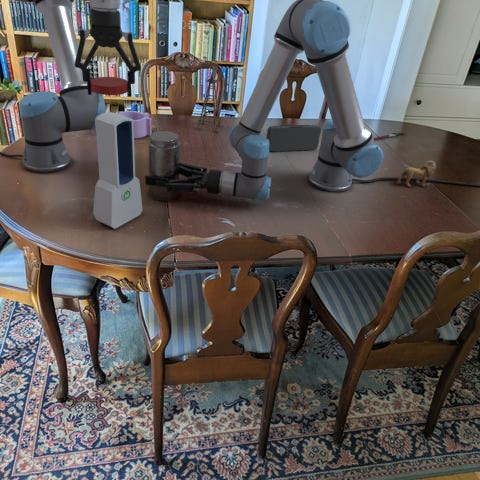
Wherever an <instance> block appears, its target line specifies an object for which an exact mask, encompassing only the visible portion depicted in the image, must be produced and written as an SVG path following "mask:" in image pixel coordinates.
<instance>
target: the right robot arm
mask: <svg viewBox="0 0 480 480" xmlns="http://www.w3.org/2000/svg"><path fill="white" fill-rule="evenodd" d="M350 21H351V20H350V18H349V16H348V14H347V12H346V11H345V10H344V9H343V7H341V6H339V5H338V4H337V3H335V2H333V1H330V0H329V1H328V0H295V1H294V2H292V4H291V5H289V7H288V8H287V10H286V11H285V13H284V15H283V16H282V18H281V20H280V22H279V24H278V26H277V29H276V31H275V33H274V35H273V40H274V44H273V46H272V48H271V51H270V52H269V55H268V57H267V59H266V62H265V64H264V66H263V68H262V71H261V72H260V75H259V77H258V79H257V82H256V84H255V86H254V89H253V90H252V93H251V95H250V97H249V99H248V101H247V104H246V105H245V108H244V111H243V113H242V115H241V117H240V119H239V121H238V124H235V125H234V126H232V128H231V129H230V130H229V133H228V140H229V142H230V145H231V146H232V148H233V149H234V150H235V151H236V153H237V154H238V157H240V159H241V170H240V172H236V171H229V170H223V171H222V170H220V169H214V168H213V169H212V168H211V169H209V171H208V168H207V167H201V166H197V165H192V164H188V163H184V162H180V161H179V176H183V177H186V178H179V179H174V180H169V179H168V178H161V177H153V176H149V175H145V176H144V183H145V184H144V185H146V186H149V185H152V186H159V187H166V189H167V192H179V193H193V194H200V193H201V192H200V191H201V190H204V189H205V190H206V193H207V194H211V195H219V194H220V195H221V196H226V197H235V198H242V199H249V200H253V201H267V200H269V198H270V192H271V186H272V177H270V176H268V175H267V174H266V173H267V167H268V159H269V155H270V151H269V140H268V139H267V138H266V137H265V136H263V135H260V134H261V132H262V129H263V128H264V125H265V124H266V122H267V119H268V117H269V115H270V113H271V111H272V109H273V107H274V105H275V103H276V101H277V99H278V97H279V95H280V92H281V91H282V88H283V86H284V84H285V83H286V80H287V78H288V76H289V74H290V72H291V70H292V68H293V66H294V64H295V62H296V59H297V57H298V55H300V54H302V53H304V54H305V57H306V60H307V63H309V64H310V65H313V66H314V67H315V70H316V73H317V76H318V80H319V82H320V86H321V89H322V92H323V95H324V99H325V102H326V105H327V108H328V111H329V114H330V117H331V118H328V119H326V120H325V122H324V124H323V128H322V132H321V133H322V134H321V139H320V143H319V149H318V154H317V159H316V161H315V163H314V165H313V167H312V168H311V170H310V172H309V175H308V182H309V183H310V184H311V185H312V186H313V187H314V188H317V189H319V190H322V191H327V192H331V193H341V192H346V191H348V190H349V189H350V188H351V187H352V183H353V182H357V183H362V184H368V183H374V182H378V181H397V180H398V178H399V177H400V176H398V177H395V176H394V177H392V176H391V177H390V176H389V177H388V176H387V177H385V176H384V177H376V178H373V179H364V178H367V177H369V176H372V175H373V174H374V173H376V171H377V170H378V169H379V167H380V165H382V162H383V159H384V152H383V150H382V148H381V147H380V146H379V145H378V144H376V142H375V140H374V139H373V138H374V135H373V132H372V131H373V130H372V128H371V126H369V125H367V124H365V122H364V118H363V115H362V111H361V107H360V104H359V100H358V96H357V92H356V89H355V85H354V82H353V81H354V80H353V77H352V74H351V70H350V66H349V63H348V59H347V55H346V53H347V51H348V50H349V48H350V44H349V40H348V39H349V36H351V22H350ZM353 177H354V178H353ZM417 179H418V178H414V177H412V178H411V179H410V181H417ZM406 180H407V177H403V178H401V180H400V181H406ZM422 180H423V179H422V178H420V182H422ZM425 182H431V183H441V184H451V185H459V186H471V187H480V185H476V184H477V183H473V184H466V183H467V182H461V181H453V180H443V179H433V178H426V181H425Z"/></svg>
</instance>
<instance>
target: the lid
mask: <svg viewBox="0 0 480 480" xmlns="http://www.w3.org/2000/svg"><path fill="white" fill-rule="evenodd" d="M90 85H91V91H92V92H94V93H97V94H102V96H103V95H104V96H120V95H124V94H128V79H125V78H122V77H116V76H97V77H93V78H91V80H90Z"/></svg>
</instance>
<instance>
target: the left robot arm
mask: <svg viewBox="0 0 480 480" xmlns="http://www.w3.org/2000/svg"><path fill="white" fill-rule="evenodd" d="M14 1H15V2H19V3H32V4H33V3H34V6H35V10H36V11H37V12H39V13H40V14H41V15H42V17H43V20H44V24H45V28H46V31H47V36H48V39H49V43H50V47H51V50H52V54H53V58H54V61H55V65H56V68H57V69H56V70H57V73H58V75H59V76H58V77H59V80H60V84H61V87H60V89H59V90H58V94H59V95H58V94H57V93H56V92H54V91H45V90H44V91H43V90H41V91H36V92H32V93H28V94H26V95H24V96H23V97H22V98H21V99H20V100H19V103H18V104H19V116H20V119H21V125H22V132H23V137H24V148H23V153H22V154H9V153H4V152H2V151H0V155H1V156H4V157H8V158H21V159H22V160H21V161H22V166H23V168H24V169H25V170H27V171H29V172H33V173H39V174H46V173H56V172H61V171H63V170H66V169H67V168H69V167H70V166H71V163H72V159H71V155H70V153H69V151H68V150H67V149H68V148H67V147H66V145H65V143H64V140H63V134H64V133H72V132H81V131H91V130H93V129H95V130H96V125H95V118H96V117H98V116H99V115H101V114H102V113H106V112H107V109H106V101H105V98H104V96H103V95H102V94H97V93H94V92H92V91H91V85H90V80H91V79H92V77H91V75H92V74H91V68H88V66H89V65H90V63H91V61H92V60H93V58H94V56H95V54H96V52H97V50H98V48H99V47H100V48H109V49H113V48H115V50H116V51H117V53H118V55H119V56H120V58H121V59H122V61H123V62H124V64H125V66H126V67H127V69H128V70H127V81H128V92H127V94H128V97H132V85H135V83H136V72H139V71H141V70H142V65H141V62H140V58H139V56H138V52H137V51H136V47H135V44H134V40H133V38H134V36H133V35H134V33H133V32H132V31H128V32H126V31H123V29H122V28H121V12H120V11H119V9H120V7H121V6H120V0H89V6H90V7H91V8H90V11H89V15H90V25H91V26H90V29H84V28H81V29H80V30H79V32H78V33H79V42H78V38H77V35H76V31H75V28H74V23H73V19H72V15H71V12H70V11H71V9H72V8H73V7H74V5H73V3H74V2H75V0H14ZM89 35H90V36H91V37H92V39H93V40H94V43H93V45H92V46H91V49H90V51H89V52H88V54H87V56H86V57H85V60H84V61H83V58H82V57H83V53H84V49H85V45H86V40H87V39H88V38H89ZM122 38H124V40H125V41H126V42H127V44H128V49H129V51H130V53H131V56H132V57H131V58H132V59H133V63H134V65H133V63H132V62H131V60H130V58H129V56H128V55H127V53H126V51H125V50H124V48H123V47H122V45H121V43H120V41H121V39H122Z"/></svg>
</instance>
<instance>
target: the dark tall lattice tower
mask: <svg viewBox="0 0 480 480" xmlns="http://www.w3.org/2000/svg"><path fill="white" fill-rule="evenodd" d="M217 59H218V56H215V59H214V61H213V62H212V63H213V65H209V63H204V62H202V63H201V64H202V65H201V66H202V67H201V69H202V70H209V69H211V72H210V78H207V80H205V82H206V83H208V86H207V87H206V88H207V89H206V93H205V97H204V100H203V103H202V108H201V113H200V114H199V115H200V117H199V119H198V124H197V128H196V129H197V130H199V129H200V126H201V123H202V124H204V123H208V124H213V126H214V127H213V128H214V132H215V133H216V132H217V123H218V127H221V120H220V119H221V117H220V111H219V106H218V105H219V104H218V95H217V89H216V88H217V86H216V83H217V84H218V82H219V81H220V79H216V78H217V73H218V66H219V64H218V60H217ZM210 90H212V94H210ZM211 97H212V98H211ZM208 100H212V102H213V103H212V104H208V102H209V101H208ZM207 106H208V107H213V108H212V109H211V108H207ZM207 111H213V116H212V115H206V112H207ZM216 114H217V116H216ZM206 117H207V118H213V121H208V120H205V118H206ZM216 119H217V120H216Z"/></svg>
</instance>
